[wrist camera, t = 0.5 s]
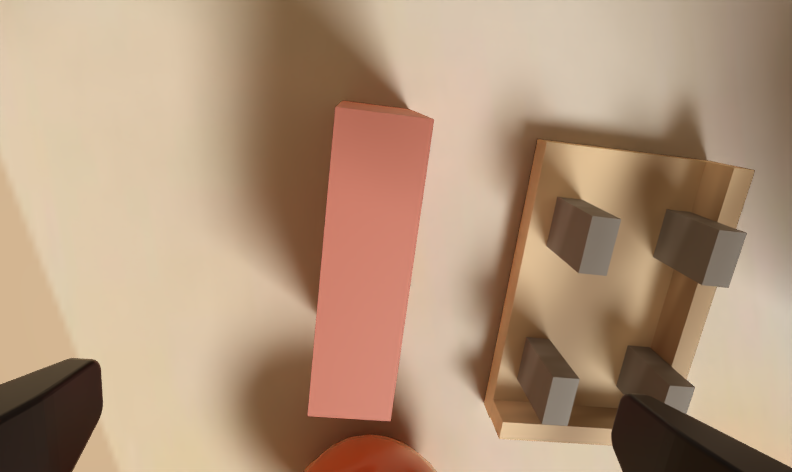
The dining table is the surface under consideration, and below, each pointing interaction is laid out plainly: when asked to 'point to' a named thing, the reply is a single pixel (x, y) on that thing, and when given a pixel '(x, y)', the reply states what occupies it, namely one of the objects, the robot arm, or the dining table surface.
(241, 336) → the dining table surface
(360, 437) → the tomato
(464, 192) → the dining table surface
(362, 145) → the pink rectangular block
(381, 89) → the dining table surface
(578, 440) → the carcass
